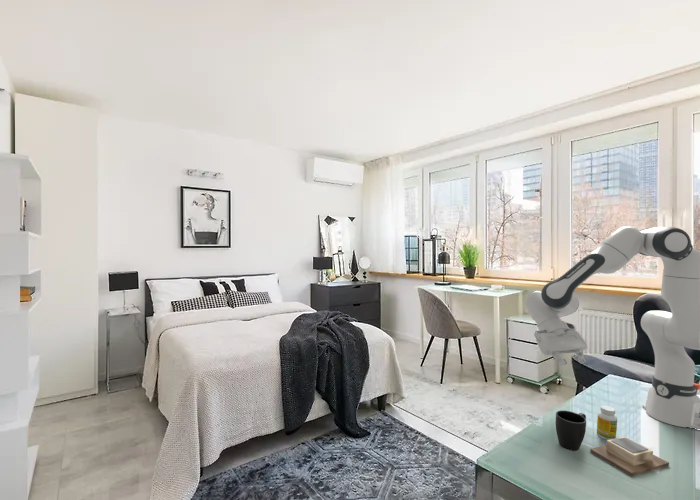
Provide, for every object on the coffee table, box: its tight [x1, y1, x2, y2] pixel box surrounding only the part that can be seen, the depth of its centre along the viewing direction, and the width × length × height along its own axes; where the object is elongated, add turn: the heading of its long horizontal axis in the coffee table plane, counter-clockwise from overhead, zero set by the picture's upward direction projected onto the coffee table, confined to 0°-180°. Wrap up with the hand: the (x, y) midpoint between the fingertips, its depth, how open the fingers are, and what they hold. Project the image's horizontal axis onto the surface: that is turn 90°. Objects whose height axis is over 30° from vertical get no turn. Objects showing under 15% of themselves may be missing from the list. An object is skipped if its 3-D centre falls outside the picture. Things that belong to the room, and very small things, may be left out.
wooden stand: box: [589, 435, 670, 477], centre depth 110 cm, size 16×12×4 cm
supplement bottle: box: [596, 405, 618, 441], centre depth 123 cm, size 5×5×10 cm
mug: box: [554, 410, 587, 452], centre depth 117 cm, size 8×12×10 cm
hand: (574, 363), depth 134 cm, fingers open, 8 cm apart
